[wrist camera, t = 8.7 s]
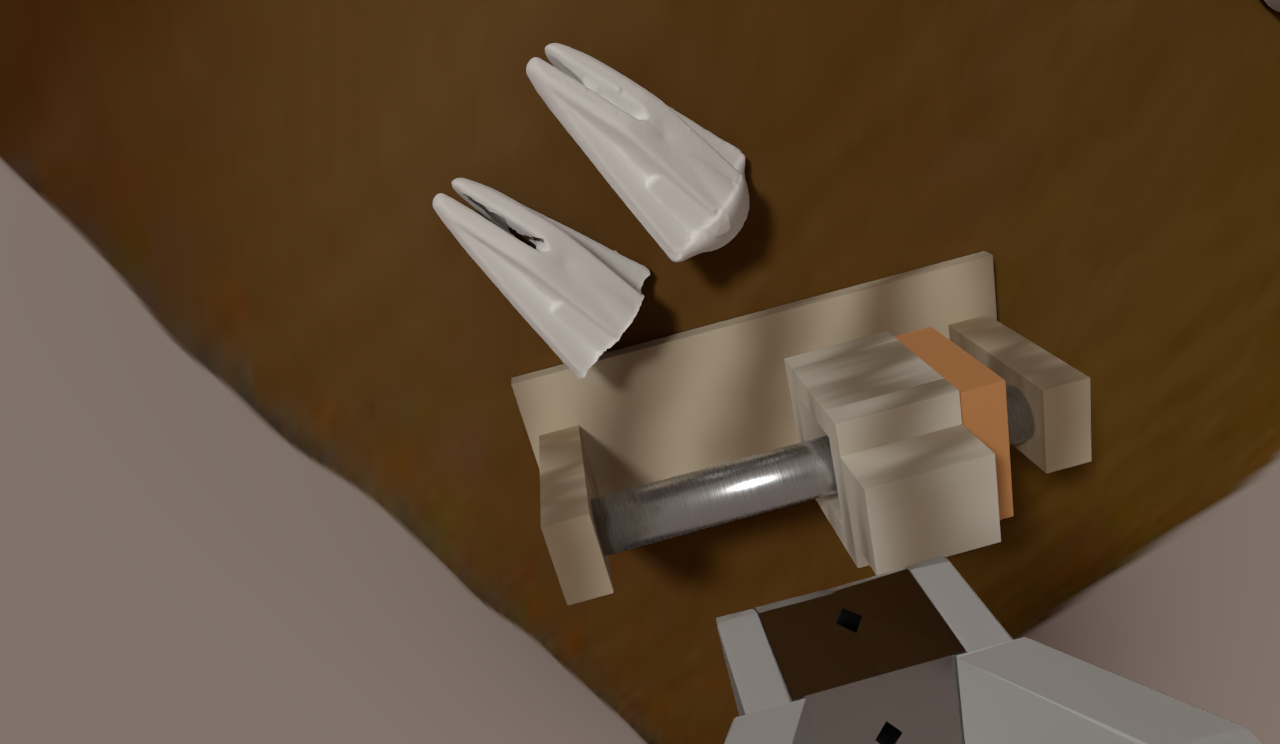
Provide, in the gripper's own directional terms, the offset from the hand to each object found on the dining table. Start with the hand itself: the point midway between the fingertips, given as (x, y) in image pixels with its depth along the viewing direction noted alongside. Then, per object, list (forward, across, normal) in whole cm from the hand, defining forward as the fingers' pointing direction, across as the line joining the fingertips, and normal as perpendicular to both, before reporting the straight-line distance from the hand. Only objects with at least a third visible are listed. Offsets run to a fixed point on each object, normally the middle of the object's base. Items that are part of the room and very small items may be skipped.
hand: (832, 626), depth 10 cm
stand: (+29, -5, +12) cm, 32 cm away
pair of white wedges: (+30, +1, -1) cm, 30 cm away
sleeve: (+26, -8, +12) cm, 30 cm away
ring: (+26, -12, +12) cm, 31 cm away
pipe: (+23, -5, +12) cm, 27 cm away
